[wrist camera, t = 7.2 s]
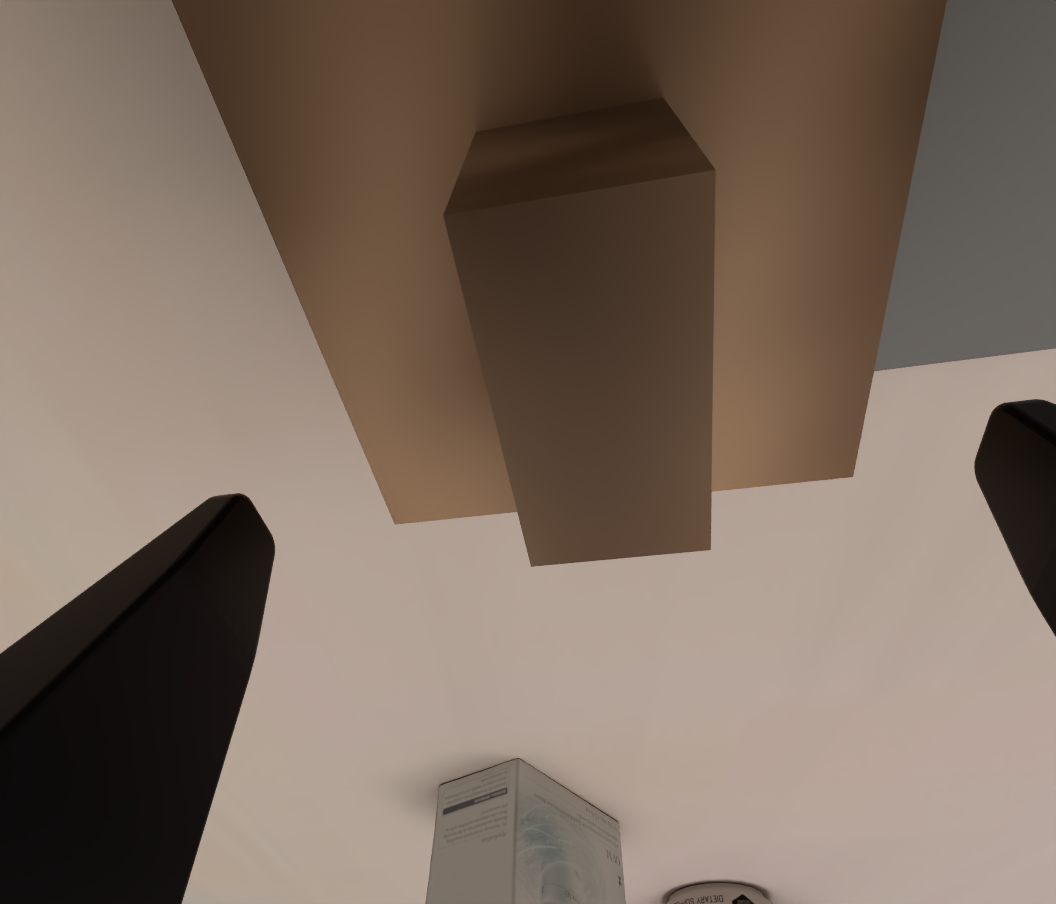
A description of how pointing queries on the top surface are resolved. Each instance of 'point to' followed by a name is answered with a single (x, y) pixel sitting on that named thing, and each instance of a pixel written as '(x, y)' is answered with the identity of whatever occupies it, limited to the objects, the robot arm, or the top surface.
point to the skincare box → (522, 843)
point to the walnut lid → (584, 239)
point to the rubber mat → (981, 194)
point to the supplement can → (718, 894)
